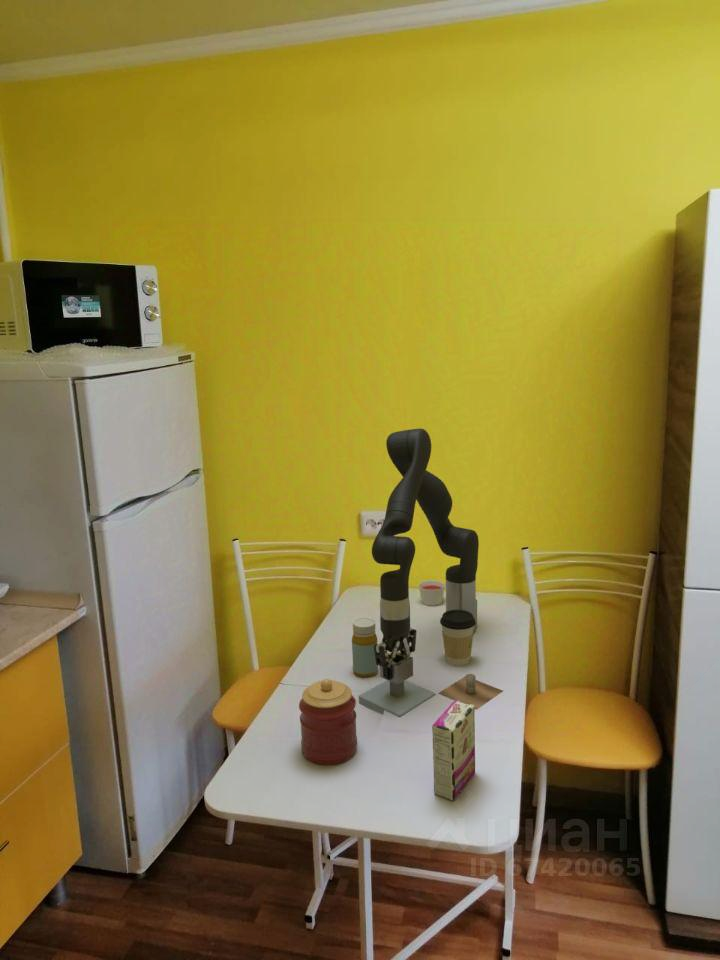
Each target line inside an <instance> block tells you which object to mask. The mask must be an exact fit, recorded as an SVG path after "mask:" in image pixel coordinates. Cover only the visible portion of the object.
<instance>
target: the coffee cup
mask: <svg viewBox="0 0 720 960" xmlns="http://www.w3.org/2000/svg"><path fill="white" fill-rule="evenodd" d="M439 623H440V625H441V628H442V629H441V630H442V631H441V632H442V633H441V634H442V640H443V648H444V655H445V659H446V663H448V664H449V665H451V666H455V667H458V666H459V667H461V666H466V665H468V664H469V663H470V660H471V659H470V658H471V656H472V655H471V654H472V649H473V641H474V640H473V639H474V634H475V633H474V632H473V628H474V625H475V624H476V622H475V619H474V617H473V615H472V613H470V612H468V611H465V610H450V611H447V612H446V611H444V612H443V613H442V615H441V617H440V621H439Z"/></svg>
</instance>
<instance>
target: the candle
mask: <svg viewBox="0 0 720 960" xmlns="http://www.w3.org/2000/svg"><path fill="white" fill-rule="evenodd" d="M418 588H419V594H420V599H421V603H422V604H423V605H425V606H432V607H433V606H439V605H441V604H442V602H443V599H444V594H445V590H446V583H444V582H442V581H440V580H434V579H433V580H432V579H431V580H430V579H429V580H424V581H421V582H419V583H418Z"/></svg>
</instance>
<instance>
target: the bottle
mask: <svg viewBox="0 0 720 960" xmlns="http://www.w3.org/2000/svg"><path fill="white" fill-rule="evenodd" d="M352 630H353V631H352V632H353V634H352V637H351V646H352V647H351V649H352V650H351V651H352V653H351V654H352V671H353V673H354V674H355V675H356V676H357V677H360V678H372V677H373V676H375V675H377V673H378V672H379V665H376V659H375V652H374V645H375V644H378V636H377V633H376V621H375V620H374V619H373V618H369V617H360V618H357V619H354V620H353V622H352Z"/></svg>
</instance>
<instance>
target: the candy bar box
mask: <svg viewBox="0 0 720 960" xmlns="http://www.w3.org/2000/svg"><path fill="white" fill-rule="evenodd" d="M452 701H453V702H452V703H450V705H449V706H448V707H447V708H446V709H445V710H444V711H443V713H442V714H441V715H440V716H439V717H438V718H437V719H436V720H435V721H434V722H433V724H432V725H431V727H432V729H431V730H432V754H433V755H432V757H433V758H432V759H433V791H434V795H436V796H438V797H441V798H445V799H448V800H449V801H452V800H455V801H456V799H457V798H458V797H457V795H458V794H459V793H460V794H461V792H462V791H463V790H464V788H465V787H466V785H467V784H468V783H469V781H470V780H471V779H472V777H473V776H474V775H475V773H476V742H475V741H476V739H475V738H476V737H475V736H476V734H475V733H476V732H475V731H476V729H475V725H476V724H475V723H476V722H475V709H474V705H472V704H468V703H464V702H460V701H457V700H452ZM462 789H463V790H462ZM461 790H462V791H461ZM460 791H461V792H460ZM460 794H459V795H460ZM459 795H458V796H459ZM456 797H457V798H456ZM455 798H456V799H455Z"/></svg>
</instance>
